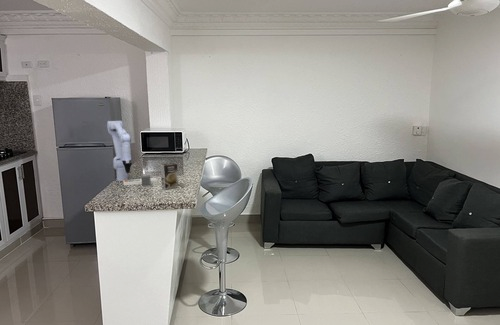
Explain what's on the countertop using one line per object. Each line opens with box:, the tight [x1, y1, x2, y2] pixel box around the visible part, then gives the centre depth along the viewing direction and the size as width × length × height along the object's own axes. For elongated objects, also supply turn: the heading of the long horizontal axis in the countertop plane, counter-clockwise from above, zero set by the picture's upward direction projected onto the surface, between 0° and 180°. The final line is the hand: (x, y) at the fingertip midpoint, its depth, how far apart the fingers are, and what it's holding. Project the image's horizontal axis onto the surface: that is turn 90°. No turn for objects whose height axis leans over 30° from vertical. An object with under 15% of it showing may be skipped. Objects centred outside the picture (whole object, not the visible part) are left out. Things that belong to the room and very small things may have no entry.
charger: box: [140, 175, 152, 187], centre depth 252 cm, size 5×5×7 cm
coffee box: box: [160, 162, 179, 191], centre depth 248 cm, size 9×6×16 cm
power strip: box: [122, 177, 158, 186], centre depth 260 cm, size 9×22×3 cm, turn 112°
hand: (127, 171), depth 255 cm, fingers open, 7 cm apart
